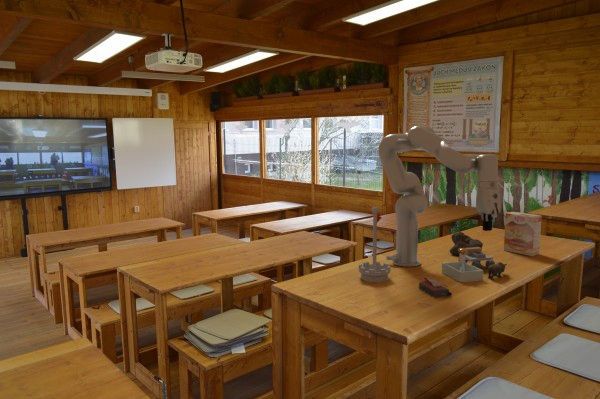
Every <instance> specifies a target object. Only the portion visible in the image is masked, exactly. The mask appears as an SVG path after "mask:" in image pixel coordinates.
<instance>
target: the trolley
mask: <svg viewBox="0 0 600 399" xmlns="http://www.w3.org/2000/svg"><path fill="white" fill-rule="evenodd" d="M466 249H468V251H467V252H466V259H465V262H466V263H468V261H469V262H471V265H472V266H475V267H477V268H479V269H481V270H482V263H481V262H483V261H485V268H486V269H487V270H488V267H489V266H490V265H493V264H496V262H495V261H494V257H493V256H491V255H488V254H486V253H485V252H483V247H482V248H480V247H472V248H466ZM459 257H460V255H458V261H457V262H459Z"/></svg>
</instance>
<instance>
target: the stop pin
mask: <svg viewBox="0 0 600 399" xmlns="http://www.w3.org/2000/svg"><path fill="white" fill-rule="evenodd" d="M458 251H459V252H460V255H459V256H460V257H459V256H458V259H459V261H458V262H459V271H461V272H465V259H466V252H467V251H468V249H466V248H459V249H458Z"/></svg>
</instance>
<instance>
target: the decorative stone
mask: <svg viewBox="0 0 600 399" xmlns="http://www.w3.org/2000/svg"><path fill="white" fill-rule="evenodd" d="M451 240H452V243H453V244H454V245H453V246H452V247H450V249H449V253H450V254H452V255H455V256H460V252H459V251H458V249H459V248H472V247H480V248H482V249H483V246H484V243H483V242H482V241H481V240H479V239H475V238H472V237H470V236H469V235H467V234H465V233H464V232H462V231H458V232H454V233H452V235H451Z"/></svg>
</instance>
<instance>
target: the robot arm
mask: <svg viewBox="0 0 600 399" xmlns="http://www.w3.org/2000/svg"><path fill="white" fill-rule="evenodd" d="M417 149H421V150H423V151H424V152H426V153H427V154H430V155H431V156H433V157H435V159H436V160H437V161H438V162H440V163H441V164H442V165H443V166H445V167H447V168H449V169H450V170H452V171H454V172H456V173H458V174H467V173H469V174H470V173H475V172H477V190H476V197H475V198H476V200H475V209H476V212H477V213H478V215H479V216H481V221H482V231H484V232H489V231H492V230H493V221H494V218H498V215H499V214H501V210H502V208H501V206H502V205H501V195H500V189H499V187H498V186H499V185H498V184H499V179H498V178H499V172H498V171H499V170H498V169H499V158H498V156H497V155H496V154H493V153H487V154H486V153H484V154H477V153H465V154H463V153H461V152H459V151H457V150H456V149H453V148H452V147H450V146H449V145H448V141H447V139H446V138H445V137H442V136H441V135H439V134H436V132H435V130H434V129H433V127H431V126H429V125H416V126H412V127H411V128H410V129H409V130H408V132H406V133H391V134H388V135H386V136H384V137H383V138H382V139H381V141H380V143H379V146H378V156H379V159H380V162H381V164H382V166H383V169H384V171H385V175H386V177H387V180H388V183H389V186H390V188H391V190H392V192H393V193H395V194H398V195H400V194H404V195H403V196H402V195H401V196H400V197H399V198H398V199H397V200H396V202H395V205H394V210H395V215H396V239H395V240H396V242H395V244H396V247H395V249H396V250H395V252H394V253H393V254H392V255H386V257H385V259H386V260H387V261H392V264H394V265H396V266H399V267H406V268H407V267H410V268H411V267H418V266H420V265H421V263H422V262H421V260H420V259H419V258H418V249H419V248H418V246H419V244H418V243H419V242H418V240H419V239H418V238H419V222H418V218H417V215H419V214H422V213H423V212H426V209H427V207H428V198H427V196H426V193H425V191H424V188H423V186H422V184H421V183H422V182H421V180H420V178H419V177H418V175H417V174H415V173H413V172H412V171H406V169H405V167H404V164H403V161H402V160H401V159H400V157H399V156H398V153H406V152H411V151H414V150H417Z"/></svg>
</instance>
